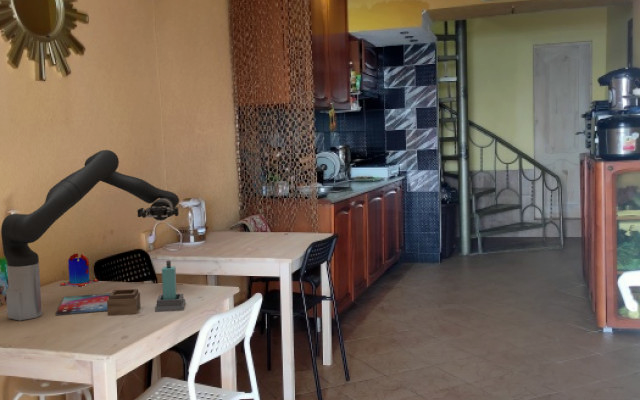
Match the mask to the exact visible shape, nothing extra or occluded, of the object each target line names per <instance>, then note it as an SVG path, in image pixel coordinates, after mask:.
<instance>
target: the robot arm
mask: <svg viewBox="0 0 640 400" xmlns="http://www.w3.org/2000/svg"><path fill="white" fill-rule="evenodd" d="M84 161H85V162H84V166H83V167H82V168H80V169H78V170H76V171H74V172H72V173H70V174H69V175H68V176H66V177H64V178H63V179H61V180H59V181H58V183H55V185H53V186H52V187H51V188H50V189H49V190H48V192H47V194H46V196H45V200H44V203H43V204H42V205H41V206H39V207H38V208H37V209H35V210H34V211H33V212H31V213H29V214H26V213H24V214H23V213H11V214H8V215H7V216H6V217H4V219H3V221H2V223H1V226H0V227H1V229H0V230H1V231H0V235H1V244H2V251H3V255H4V257H5V260H6V264H7V279H8V280H7V281H8V284H7V285H8V288H6V290H5V293H6V294H5V295H6V310H7V319H10V320H15V321H25V320H31V319H36V318H39V317H41V316H42V315H43V312H42V311H43V310H42V309H43V308H42V293H41V291H42V290H41V279H40V278H41V277H40V263H39V262H40V259H39V257H40V256H39V254H38V253H37V252H35V251H34V250H32V249H31V248H30V246H29V244H32V243H35V242H37V241H38V240H39V239H40V238H41V237H42V236H43V235H44V234H45V233H46V232H47V231H48V230H49V228H50V227H52V225H54V223H55V222H56V221H57V220H59V219H60V218H61V217H62V216H64V214H65V213H67V212H68V211H69V210H70V209H71V208H73V207H74V206H75V205H76V204H78V203H79V202H80V201H81V200H82V199H83V198H84V197H85V196H86V195H87V194H89V192H91V190H92V189H93V188H95V186H96V185H97V184H99V183H100V182H102V183H105V184H108V185H109V186H113V187H115V188H117V189H120V190H122V191H124V192H126V193H128V194H131V195H133V196H134V197H136V198H138V199H139V200H141V201H142V202H144V203H147V204H148V205H149V204H150V205H151V206H150V207H147V208H146V209H145V208H144V207H140V208H138V209H137V210H136V211H137V217H138V218H143V219H145V218H153V219H154V220H156V221H164V220H166V219H168V218H170V217H173V216H175V217H179V215H180V213H179V212H180V211H179V210H180V209H179V207H178V204H179V203H180V197H179V196H178V195H177V194H176V193H174V192H172V191H170V190H169V191H168V190H164V189H161V188H158V187H156V186H154V185H152V184H151V183H150V182H147V181H146V180H144V179H142V178H139V177H137V176H136V177H135V176H133V175H132V176H131V175H127V174H123V173H120V172H118V171H117V169H118V168H119V163H120V160H119V156H118V155H117V154H116V153H115V152H114V151H112V150H110V149H109V150H108V149H103V150H99V151H98V152H95V153H94V154H91V156H89V157H88V158H87V159H85V160H84Z"/></svg>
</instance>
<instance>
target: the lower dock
mask: <svg viewBox="0 0 640 400" xmlns="http://www.w3.org/2000/svg"><path fill="white" fill-rule="evenodd" d="M176 294H177V299H168V300H163V294H159V295H158V297H157V299H156V303H155V306H154V310H155V313H157V312H175V311H176V312H178V311H184V310H185V309H184V308H185V306H186V298H184V297H185V296H184V293H176Z"/></svg>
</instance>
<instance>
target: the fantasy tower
mask: <svg viewBox="0 0 640 400" xmlns="http://www.w3.org/2000/svg"><path fill="white" fill-rule="evenodd" d="M67 261H68V262H67V263H68V264H67V267H68V279H69V280H68V281H67V282H65V281H64V282H61V283H60V284H59V286H60V287H66V286H68V287H77V286H78V287H77V288H83V287H82V286H85V284H88V285H90V284H89V283H91V284H93V283H97V282H99V280H98V279H97V278H93V279H92V280H91V279H90V269H89V266H90V261H89V258H87V256H86V255H84V254H80V257H79V253H73V254H72V255H70V257H69V258H68V260H67ZM85 287H86V286H85Z"/></svg>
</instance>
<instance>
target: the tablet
mask: <svg viewBox="0 0 640 400" xmlns="http://www.w3.org/2000/svg"><path fill="white" fill-rule="evenodd" d="M111 293H112V292H110V293H109V292H108V293H95V294H94V293H93V294H85V295H71V296H64V297H62V300H61V301H60V304H59V306H58V308H57V310H56V312H55V316H61V317H62V316H68V315H71V316H72V315H83V314H93V313H95V314H96V313H105V312H107V313H108V309H107V300H108V298H109V295H110V294H111Z"/></svg>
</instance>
